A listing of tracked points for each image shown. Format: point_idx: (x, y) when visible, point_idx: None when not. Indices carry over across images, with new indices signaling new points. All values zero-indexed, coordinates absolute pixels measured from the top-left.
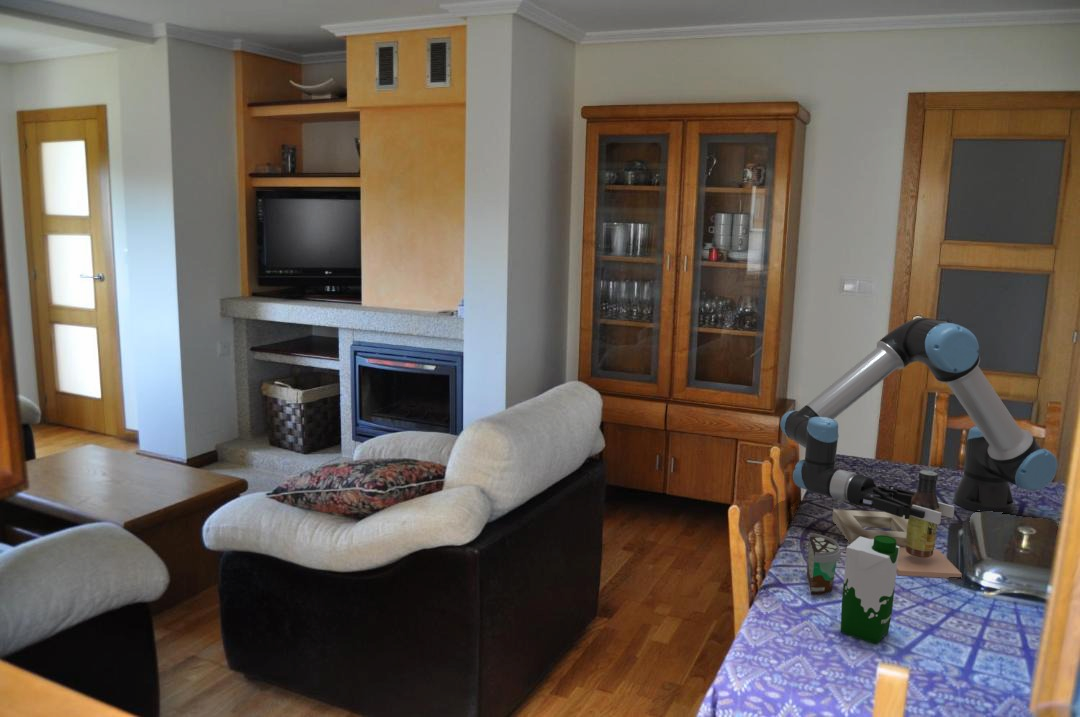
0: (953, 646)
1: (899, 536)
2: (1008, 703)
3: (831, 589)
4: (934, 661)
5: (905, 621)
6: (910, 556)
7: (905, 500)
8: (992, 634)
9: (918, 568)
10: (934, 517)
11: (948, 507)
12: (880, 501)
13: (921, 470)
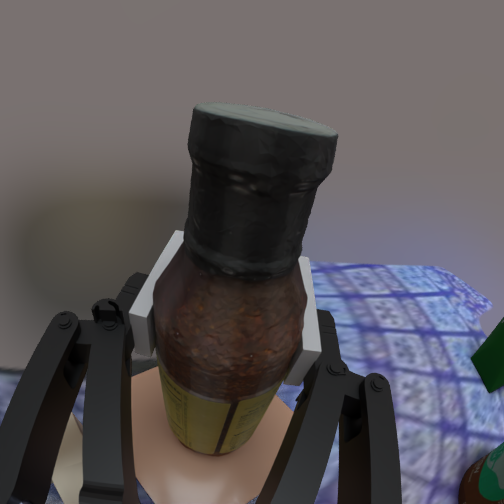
0: (430, 308)
1: None
2: (443, 270)
3: (473, 464)
4: (460, 312)
5: (442, 357)
6: None
7: (127, 440)
8: (373, 287)
9: (270, 413)
10: None
11: None
12: (398, 501)
13: (246, 118)
